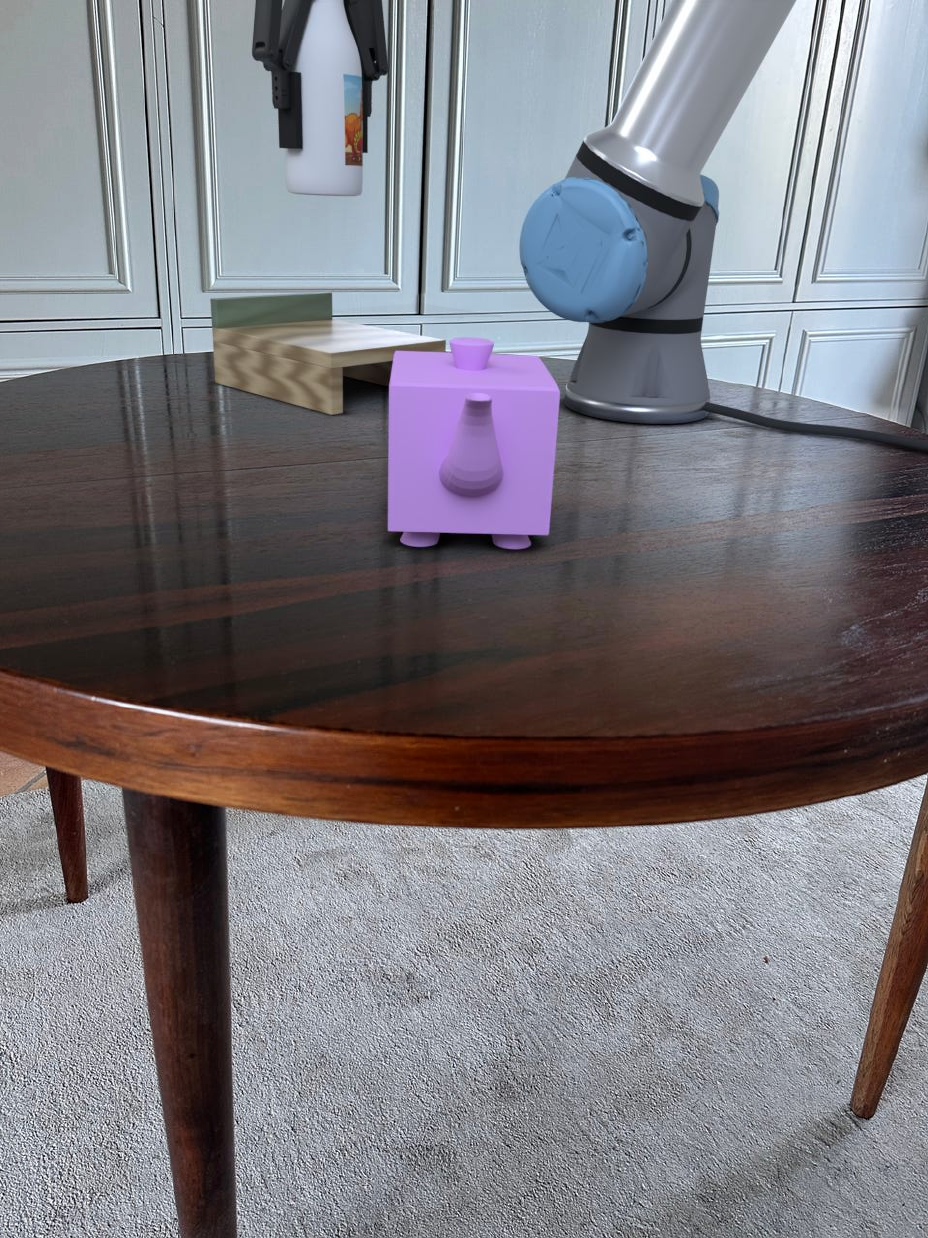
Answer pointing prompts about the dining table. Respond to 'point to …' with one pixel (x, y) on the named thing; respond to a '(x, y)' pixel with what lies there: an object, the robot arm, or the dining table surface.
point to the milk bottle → (328, 107)
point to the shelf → (301, 348)
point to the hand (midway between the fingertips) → (324, 150)
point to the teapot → (471, 444)
